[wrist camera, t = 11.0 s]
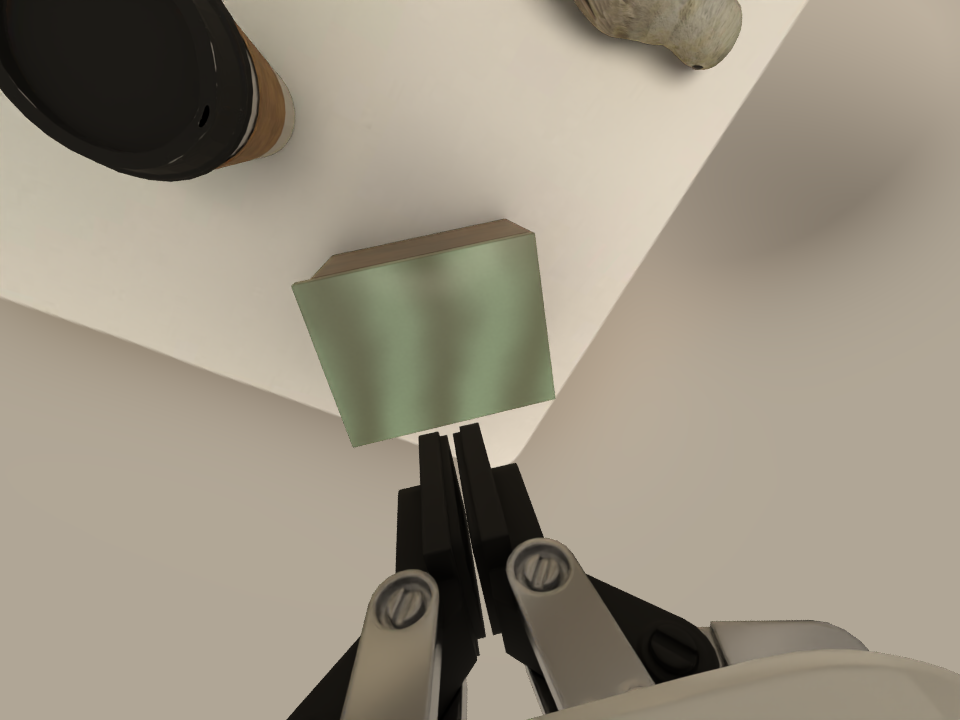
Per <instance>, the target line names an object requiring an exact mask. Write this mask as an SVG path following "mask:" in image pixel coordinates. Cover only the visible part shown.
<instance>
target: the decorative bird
mask: <svg viewBox="0 0 960 720" xmlns="http://www.w3.org/2000/svg"><path fill="white" fill-rule="evenodd" d="M574 2H575V4H576V5H577V7H578V8H579V9H580V11H581V12H582V13H583V14H584V15H585V17H586V18H587V19H588V20H589V21H590V22H591V23H592V24H593V25H594V26H595V27H596V28H597V29H598V30H600V31H601V32H602V33H604V34H606V35H608V36H610V37H615V38H623V39H629V40H632V41H639V42H642V43H645V44H651V45H664V46H665V47H667V48H668V49H670V50H671V51H672V52H673V53H674V54H675V55H676V56H677V57H678V58H679V59H680V60H681V61H682V62H683V63H684V64H685V65H688V66H690V67H692V69H695V70H705V69H709V68H712V67H714V66H716V65H717V64H718V63H719V62H721V61H722V60H723V59H724V58H725V57H726V55H727V54H728V53H729V52H730V51H731V49H732V48H733V46H734V44H735V42H736V40H737V38H738V36H739V33H740V30H741V25H742V11H741V6H740V4H739V3H738V1H737V0H574Z"/></svg>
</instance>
